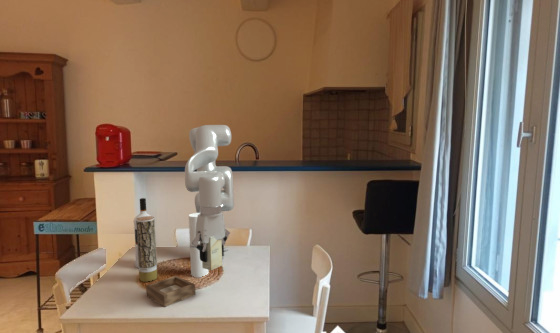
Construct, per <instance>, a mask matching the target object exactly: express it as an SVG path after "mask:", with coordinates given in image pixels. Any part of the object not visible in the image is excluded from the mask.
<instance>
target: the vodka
mask: <svg viewBox="0 0 560 333" xmlns="http://www.w3.org/2000/svg"><path fill="white" fill-rule="evenodd" d="M144 216H152V215H151V214H149V213H148V212H147V198H145V197H142V198H139V214H138V215H136V216H135V217H134V219H133V229H134V243H135V244H134V247H135V259H134V266H135V267H136V268H138V269H139V261H138V243H137V225H136V219H137V218H139V217H144ZM156 260H157V261H158V258H157V257H156Z"/></svg>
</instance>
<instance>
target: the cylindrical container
mask: <svg viewBox="0 0 560 333" xmlns="http://www.w3.org/2000/svg"><path fill="white" fill-rule="evenodd" d="M199 214H200V213H197V212H194V213H190V214H188V229H189V230H188V232H189V234H188V235H189V249H190V250H189V254H190V258H189V259H190V275H192V276H191V277H193V276H194V277H193V278H203V277H202V276H205V275H207V274H208V273H209V271H210V270H208V269H204V268H203V267H202V261H201V260H200V250H198V249H197V248H196V247H195V246H194V245H193V244H192V241H193V240H194V238H195V237H196V223H197V217H198V215H199ZM199 243H200V241H198V244H199ZM208 275H209V274H208ZM208 275H207V276H208ZM205 277H206V276H205Z"/></svg>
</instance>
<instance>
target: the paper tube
mask: <svg viewBox="0 0 560 333" xmlns="http://www.w3.org/2000/svg"><path fill="white" fill-rule="evenodd" d="M155 221H156V220H155V217H154V216H152V215H151V216H144V217H139V218H137V219H136V225H137V243H138V261H139V268H138V275H139V276H138V278H139V280H140V281H141V282H143V283H149V282H148V281H150V282H153V281H156V279H157V278H158V259H157V260H156V258H157V243H156V242H157V241H156V240H157V239H156V224H155V223H156V222H155ZM152 280H153V281H152Z"/></svg>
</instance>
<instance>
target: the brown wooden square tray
mask: <svg viewBox="0 0 560 333" xmlns="http://www.w3.org/2000/svg"><path fill="white" fill-rule="evenodd" d="M145 290H146V297H147V298H149V299H151V300H152V301H154V302H155V303H158V304H160V305H161V306H163V307H164V308H165V307H169V306H170V305H173V304H175V303H179V302H182V301H183V300H185V299H189V298H191V297H193V296H196V284H194V283H193V282H191V281H188V280H187V279H185V278H183V277H180V276H178V275H174V276H171V277H168V278H165V279H161V280H159V281H155V282H152V283H150V284H147V285H145Z"/></svg>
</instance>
